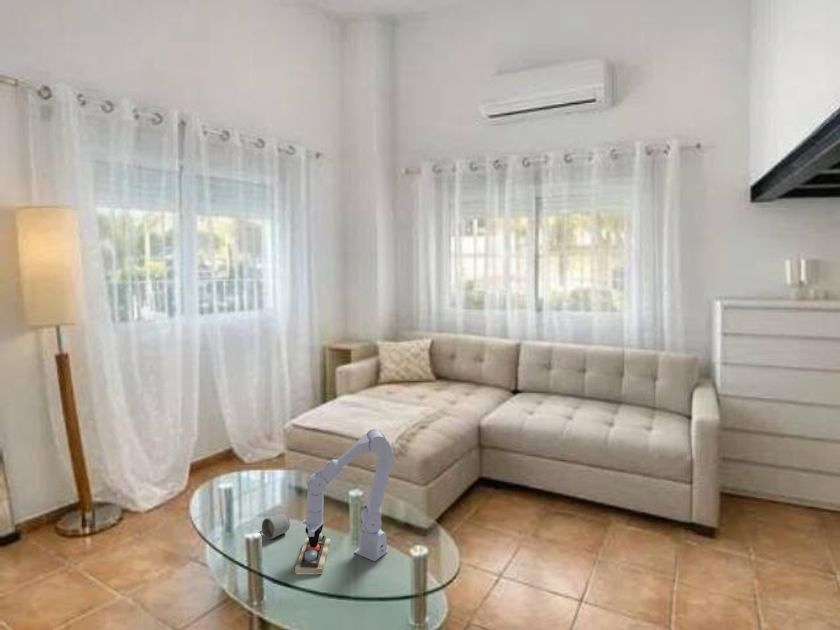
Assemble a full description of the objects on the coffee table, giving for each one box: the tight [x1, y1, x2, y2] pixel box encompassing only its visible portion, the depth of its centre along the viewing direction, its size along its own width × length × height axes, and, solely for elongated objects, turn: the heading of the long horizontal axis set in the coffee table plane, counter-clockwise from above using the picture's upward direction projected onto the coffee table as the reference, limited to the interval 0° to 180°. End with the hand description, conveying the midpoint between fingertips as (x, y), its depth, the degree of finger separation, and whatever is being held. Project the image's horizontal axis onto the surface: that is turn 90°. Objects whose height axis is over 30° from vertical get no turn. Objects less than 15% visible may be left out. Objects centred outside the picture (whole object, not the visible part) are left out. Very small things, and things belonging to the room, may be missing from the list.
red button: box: [308, 544, 320, 552], centre depth 185 cm, size 4×4×2 cm
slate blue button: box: [305, 550, 317, 562], centre depth 178 cm, size 4×4×2 cm
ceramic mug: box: [261, 513, 291, 540], centre depth 201 cm, size 11×8×8 cm
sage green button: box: [318, 531, 324, 542], centre depth 191 cm, size 4×4×2 cm
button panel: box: [294, 535, 331, 575], centre depth 185 cm, size 20×9×3 cm, turn 2°
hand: (313, 546), depth 185 cm, fingers closed, pressing on red button
